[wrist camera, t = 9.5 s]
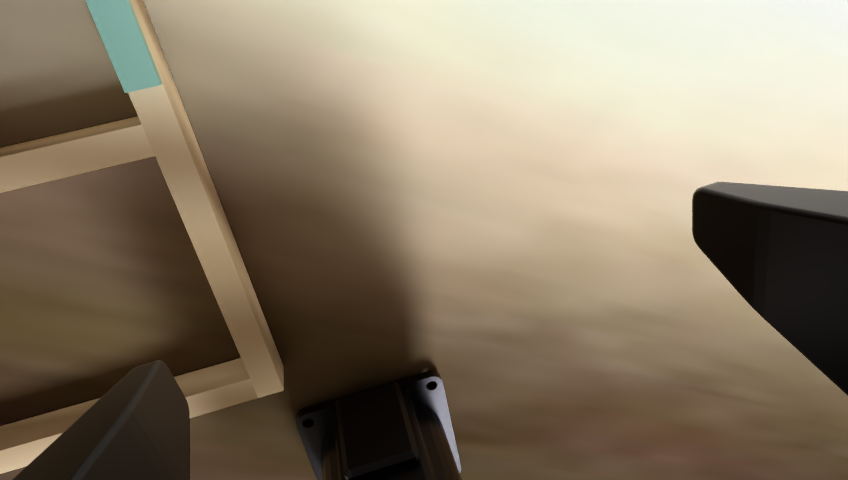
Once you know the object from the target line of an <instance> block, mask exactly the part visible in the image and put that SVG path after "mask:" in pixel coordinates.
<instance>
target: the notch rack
mask: <svg viewBox="0 0 848 480" xmlns="http://www.w3.org/2000/svg"><path fill="white" fill-rule="evenodd" d="M85 1H86V4H87V6H88V8H89V11H90V13H91V15H92V18H93V20H94V22H95V25H96V27H97V29H98V32H99V34H100V36H101V39H102V41H103V43H104V46H105V48H106V50H107V53H108V55H109V57H110V60H111V62H112V64H113V67H114V69H115V71H116V74H117V76H118V78H119V81H120V83H121V85H122V88H123V90H124V92H125V93H128V94H129V96H130V98H131V101H132V103H133V106H134V108H135V110H136V113H137V115H138V116H137V117H133V118H128V119H124V120H120V121H115V122H111V123H107V124H102V125H98V126H94V127H89V128H85V129H80V130H76V131H72V132H67V133H63V134H59V135H54V136H50V137H45V138H41V139H37V140H32V141H28V142H24V143H19V144H15V145H10V146H6V147H2V148H0V193H2V192H6V191H11V190H15V189H19V188H23V187H28V186H32V185H36V184H40V183H44V182H49V181H53V180H57V179H61V178H65V177H70V176H74V175H78V174H82V173H86V172H91V171H95V170H99V169H103V168H107V167H112V166H116V165H120V164H124V163H128V162H133V161H137V160H141V159H145V158H149V157H154V156H155V157H156V159H157V162H158V164H159V167H160V169H161V171H162V174H163V176H164V178H165V181H166V183H167V185H168V188H169V190H170V192H171V195H172V197H173V199H174V202H175V204H176V206H177V209H178V211H179V213H180V216H181V218H182V221H183V223H184V225H185V228H186V230H187V232H188V235H189V237H190V239H191V242H192V244H193V246H194V249H195V251H196V253H197V256H198V258H199V260H200V263H201V265H202V267H203V270H204V272H205V275H206V277H207V279H208V282H209V284H210V286H211V289H212V291H213V293H214V296H215V298H216V300H217V303H218V305H219V307H220V310H221V312H222V314H223V317H224V319H225V321H226V324H227V326H228V328H229V331H230V333H231V336H232V338H233V340H234V343H235V345H236V347H237V350H238V352H239V354H240V357H241V358H239V359H235V360H232V361H228V362H225V363H221V364H218V365H214V366H211V367H207V368H204V369H200V370H197V371H193V372H190V373H186V374H183V375H179V376H175V377H174V378H175V380H176V382H177V383H178V385H179V387H180V389H181V390H182V392H183V394H184V396H185V398H186V400H187V402H188V406H189V412H190V418H192V417H196V416H199V415H203V414H206V413H209V412H213V411H216V410H220V409H223V408H226V407H230V406H233V405H237V404H240V403H243V402H247V401H250V400H254V399H257V398H260V397H264V396H267V395H271V394H274V393H278V392H281V391H284V366H283V364H282V361H281V359H280V356H279V353H278V351H277V348H276V346H275V343H274V340H273V338H272V335H271V333H270V330H269V327H268V325H267V322H266V320H265V317H264V314H263V312H262V309H261V307H260V304H259V301H258V299H257V296H256V294H255V291H254V288H253V286H252V283H251V281H250V278H249V275H248V273H247V270H246V267H245V265H244V262H243V260H242V257H241V254H240V252H239V249H238V247H237V244H236V241H235V239H234V236H233V234H232V231H231V228H230V226H229V223H228V221H227V218H226V215H225V213H224V210H223V208H222V205H221V202H220V200H219V197H218V195H217V192H216V189H215V187H214V184H213V182H212V179H211V176H210V174H209V171H208V169H207V166H206V163H205V161H204V158H203V156H202V153H201V150H200V148H199V145H198V143H197V140H196V137H195V135H194V132H193V130H192V127H191V124H190V122H189V119H188V117H187V114H186V111H185V109H184V106H183V104H182V101H181V98H180V96H179V93H178V90H177V88H176V85H175V83H174V80H173V77H172V75H171V72H170V70H169V67H168V64H167V62H166V59H165V57H164V54H163V51H162V49H161V46H160V44H159V41H158V38H157V36H156V33H155V31H154V28H153V25H152V23H151V20H150V18H149V15H148V12H147V10H146V7H145V5H144V2H143V0H85ZM99 399H100V398H98V399H94V400H91V401H87V402H84V403H80V404H77V405H73V406H70V407H66V408H63V409H59V410H56V411H52V412H49V413H45V414H42V415H38V416H35V417H31V418H28V419H24V420H21V421H17V422H13V423H10V424H6V425H3V426H0V474H1V473H5V472H8V471H12V470H15V469H18V468H22V467H25V466H28V465H29V464H30V463H31V462H32V461H33V460H34V459H35V458H36V457H37V456H39V455H40V454H41V453H42V452H43V451H44V450H45V449H46V448H47V447H48V446H49V445H50V444H52V443H53V442H54V441H55V440H56V439H57V438H58V437H59V436H60V435H61V434H62V433H63V432H64V431H66V430H67V429H68V428H69V427H70V426H71V425H72V424H73V423H74V422H75V421H76V420H77V419H79V418H80V417H81V416H82V415H83V414H84V413H85V412H86V411H87V410H88V409H89V408H90V407H91V406H93V405H94V404H95V403H96V402H97V401H98V400H99Z"/></svg>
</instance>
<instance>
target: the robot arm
mask: <svg viewBox="0 0 848 480" xmlns="http://www.w3.org/2000/svg"><path fill="white" fill-rule="evenodd" d="M692 232H693V237H694V240H695V242H696V244H697V245H698V247H699V248H700V249H701V250H702V251H703V253H704V254H705V255H706V256H707V257H708V258H709V259H710V261H711V262H712V263H713V264H714V265H715V266H716V267H717V268H718V270H719V271H720V272H721V273H722V274H723V275H724V276H725V278H726V279H727V280H728V281H729V282H730V283H731V284H732V285H733V287H734V288H735V289H736V290H737V291H738V292H739V293H740V295H741V296H742V297H743V298H744V299H745V300H746V301H747V302H748V303H749V304H750V305H751V306H752V308H753V309H755V310H756V311H757V312H758V313H759V314H760V315H761V316H762V317H763V318H764V319H765V320H766V321H767V322H768V323H769V324H770V325H771V326H773V327H774V328H775V329H776V330H777V331H778V332H779V333H780V334H781V335H782V336H783V337H785V338H786V339H787V340H788V341H789V342H790V343H791V344H792V345H793V346H794V347H795V348H796V349H798V350H799V351H800V352H801V353H802V354H803V355H804V356H805V357H806V358H807V359H808V360H810V361H811V362H812V363H813V364H814V365H815V366H816V367H817V368H818V369H819V370H820V371H822V372H823V373H824V374H825V375H826V376H827V377H828V378H829V379H830V380H831V381H832V382H833V383H835V384H836V385H837V386H838V387H839V388H840V389H841V390H842V391H843V392H844V393H845V394H847V395H848V191H836V190H823V189H809V188H796V187H783V186H769V185H756V184H743V183H729V182H716V183H713V184H710V185H707V186H703V187H700V188H698V189H697V190H696V191H695V192H694V194H693V199H692ZM430 381H434V383H432V384H429V385H428V383H429V382H430ZM308 418H310V419H312V420H310V421H305V419H308ZM296 424H297V428H298V431H299V433H300V436H301V438H302V441H303V443H304V446H305V449H306V451H307V454H308V456H309V459H310V461H311V464H312V466H313V469H314V471H315V474H316V476H317V479H318V480H462V479H461V477H460V474H459V473H460V472H461V465H460V460H459V455H458V451H457V446H456V442H455V437H454V432H453V428H452V423H451V418H450V414H449V409H448V405H447V400H446V395H445V391H444V386H443V382H442V379H441V377H440V375H439V373H437V372H436V371H427V372H424V373H421V374H417V375H414V376H411V377H407V378H404V379H400V380H397V381H394V382H390V383H387V384H384V385H380V386H377V387H374V388H370V389H367V390H364V391H360V392H357V393H354V394H350V395H347V396H344V397H340V398H337V399H333V400H330V401H327V402H323V403H320V404H317V405H313V406H310V407H307V408H304V409H302V410H300V411H299V412H298V413H297V416H296ZM13 480H190V412H189V406H188V402H187V400H186V398H185V396H184V394H183V392H182V390H181V389H180V387H179V385H178V383H177V382H176V380H175V378H174V376H173V375H172V373H171V371H170V369H169V368H168V366H167V365H166V364H165V363H164V362H163V361H160V360H156V361H153V362H149V363H146V364H143V365H140V366H137V367H135V368H133V369H132V370H130V371H129V372H128V373H127V374H126V375H125V376H124V377H123V378H122V379H121V380H120V381H119V382H117V383H116V384H115V385H114V386H113V387H112V388H111V389H110V390H109V391H108V392H107V393H106V394H104V395H103V396H102V397H101V398H100V399H99V400H98V401H97V402H96V403H95V404H94V405H93V406H91V407H90V408H89V409H88V410H87V411H86V412H85V413H84V414H83V415H82V416H81V417H80V418H79V419H77V420H76V421H75V422H74V423H73V424H72V425H71V426H70V427H69V428H68V429H67V430H66V431H64V432H63V433H62V434H61V435H60V436H59V437H58V438H57V439H56V440H55V441H54V442H53V443H52V444H50V445H49V446H48V447H47V448H46V449H45V450H44V451H43V452H42V453H41V454H40V455H39V456H37V457H36V458H35V459H34V460H33V461H32V462H31V463H30V464H29V465H28V466H27V467H26V468H25V469H23V470H22V471H21V472H20V473H19V474H18V475H17V476H16V477H15V478H14V479H13Z"/></svg>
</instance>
